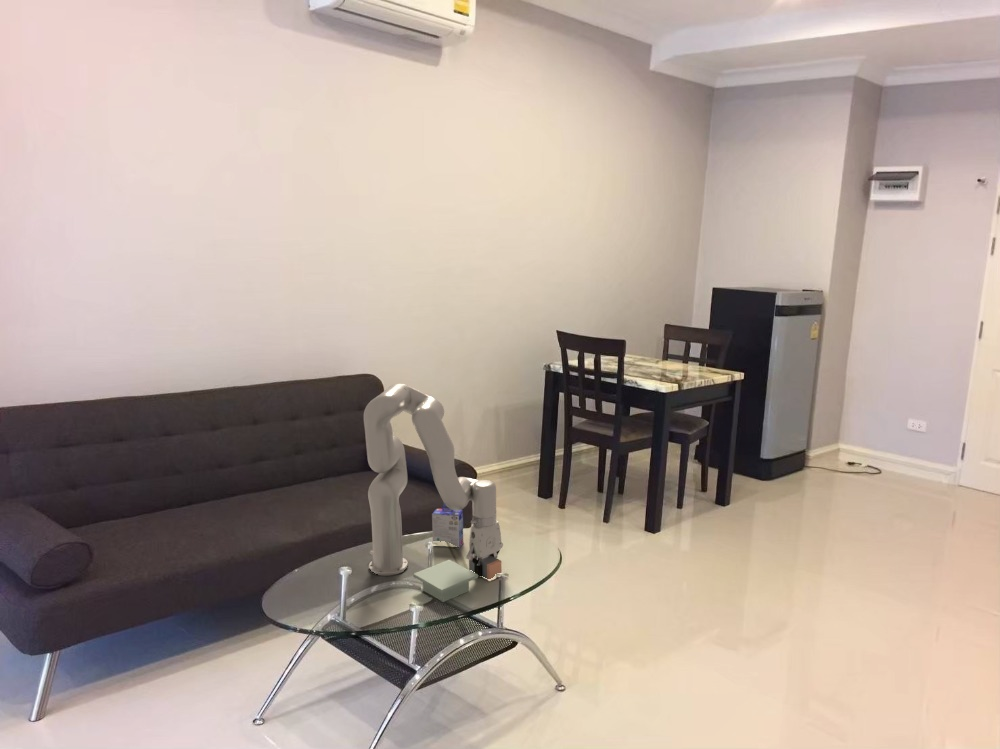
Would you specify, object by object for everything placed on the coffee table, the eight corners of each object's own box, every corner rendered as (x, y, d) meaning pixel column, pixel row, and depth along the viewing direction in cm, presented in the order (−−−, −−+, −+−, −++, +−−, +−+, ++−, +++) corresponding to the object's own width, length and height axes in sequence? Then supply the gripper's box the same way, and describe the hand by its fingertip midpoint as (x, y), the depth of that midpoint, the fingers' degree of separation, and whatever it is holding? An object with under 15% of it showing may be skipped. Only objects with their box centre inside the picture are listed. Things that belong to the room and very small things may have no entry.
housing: (469, 571, 259) (468, 555, 258) (480, 566, 263) (480, 550, 261) (489, 581, 252) (489, 565, 251) (501, 576, 256) (501, 560, 254)
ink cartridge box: (464, 542, 280) (463, 503, 277) (460, 549, 275) (459, 509, 272) (436, 540, 282) (435, 501, 279) (432, 546, 277) (431, 507, 274)
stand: (413, 590, 248) (413, 573, 246) (449, 575, 257) (449, 559, 255) (442, 607, 237) (441, 590, 236) (478, 591, 247) (477, 574, 245)
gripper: (471, 530, 245) (472, 585, 249) (512, 515, 256) (512, 567, 260) (455, 523, 250) (457, 576, 255) (496, 508, 261) (497, 560, 266)
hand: (485, 571), depth 257 cm, fingers closed on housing, 5 cm apart
